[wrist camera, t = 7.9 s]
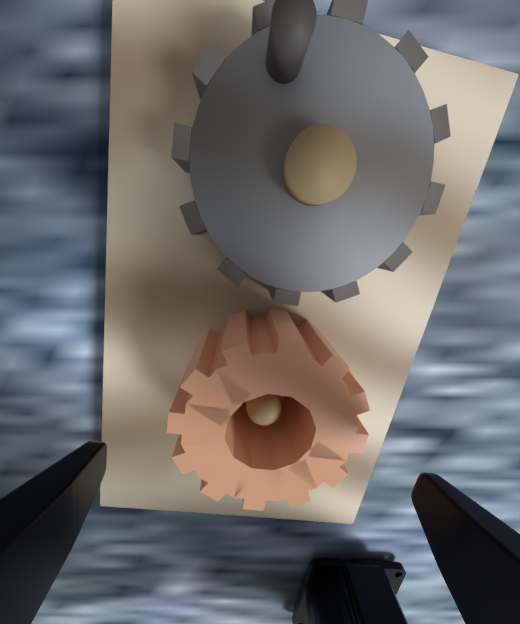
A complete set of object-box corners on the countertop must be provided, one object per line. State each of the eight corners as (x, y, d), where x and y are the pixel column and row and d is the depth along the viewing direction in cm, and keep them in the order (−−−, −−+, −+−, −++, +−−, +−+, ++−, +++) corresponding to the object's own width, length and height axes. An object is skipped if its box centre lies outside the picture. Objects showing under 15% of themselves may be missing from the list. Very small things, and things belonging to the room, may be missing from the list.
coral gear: (315, 445, 14) (340, 516, 10) (181, 431, 13) (158, 502, 9) (351, 320, 12) (396, 356, 8) (197, 296, 11) (178, 324, 8)
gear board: (345, 503, 17) (384, 607, 12) (110, 484, 15) (52, 595, 10) (489, 91, 11) (674, -16, 6) (129, -9, 9) (16, -252, 5)
